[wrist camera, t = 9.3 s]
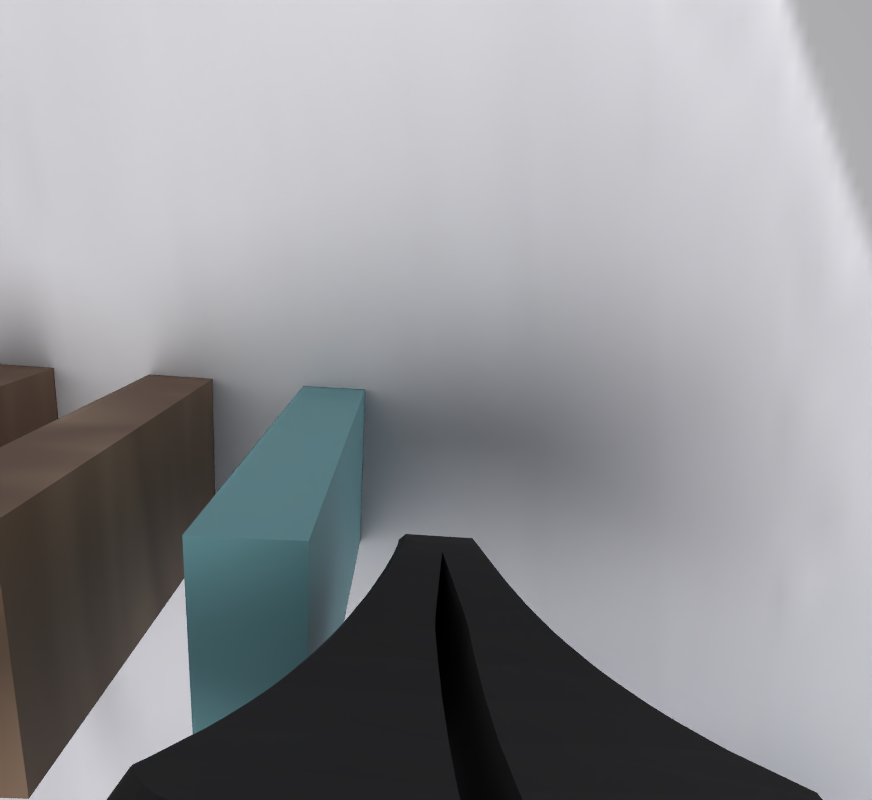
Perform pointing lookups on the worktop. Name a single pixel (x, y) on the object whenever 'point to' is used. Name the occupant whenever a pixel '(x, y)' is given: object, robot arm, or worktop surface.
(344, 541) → the teal domino
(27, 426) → the domino
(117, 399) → the domino
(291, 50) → the worktop surface
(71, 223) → the worktop surface
